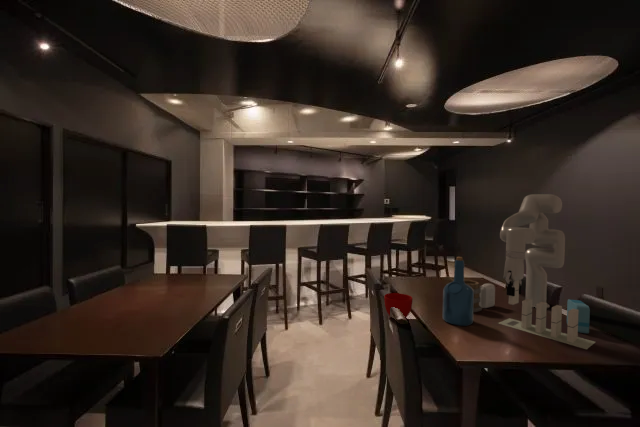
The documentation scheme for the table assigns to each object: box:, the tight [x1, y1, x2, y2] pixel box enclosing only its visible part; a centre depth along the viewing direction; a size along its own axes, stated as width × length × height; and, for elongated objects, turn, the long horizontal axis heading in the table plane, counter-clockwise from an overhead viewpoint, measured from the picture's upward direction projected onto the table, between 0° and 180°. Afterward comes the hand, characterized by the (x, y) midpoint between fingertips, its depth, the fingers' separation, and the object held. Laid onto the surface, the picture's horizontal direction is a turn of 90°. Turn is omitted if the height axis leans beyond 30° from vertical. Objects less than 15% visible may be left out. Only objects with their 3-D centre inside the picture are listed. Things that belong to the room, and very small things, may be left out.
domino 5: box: [566, 309, 579, 343], centre depth 127 cm, size 6×2×12 cm, turn 126°
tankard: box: [443, 275, 483, 313], centre depth 170 cm, size 20×13×15 cm, turn 35°
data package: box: [566, 298, 591, 335], centre depth 140 cm, size 12×4×12 cm, turn 158°
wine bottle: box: [441, 256, 475, 327], centre depth 146 cm, size 14×13×30 cm
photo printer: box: [479, 283, 496, 309], centre depth 171 cm, size 10×4×12 cm, turn 123°
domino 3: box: [535, 302, 548, 333], centre depth 136 cm, size 6×2×12 cm, turn 126°
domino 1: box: [508, 278, 520, 306], centre depth 145 cm, size 6×2×12 cm, turn 126°
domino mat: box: [497, 318, 596, 350], centre depth 135 cm, size 12×32×1 cm, turn 36°
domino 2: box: [520, 298, 533, 329], centre depth 140 cm, size 6×2×12 cm, turn 126°
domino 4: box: [550, 304, 563, 338], centre depth 132 cm, size 6×2×12 cm, turn 126°
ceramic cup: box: [383, 292, 413, 318], centre depth 152 cm, size 13×17×10 cm
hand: (513, 294), depth 145 cm, fingers closed on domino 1, 6 cm apart
